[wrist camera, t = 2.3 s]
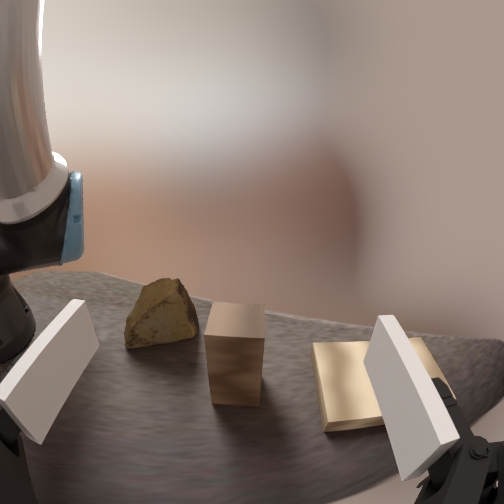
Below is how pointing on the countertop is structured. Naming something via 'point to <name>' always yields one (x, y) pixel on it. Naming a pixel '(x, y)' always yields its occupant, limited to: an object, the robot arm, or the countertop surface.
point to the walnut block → (235, 353)
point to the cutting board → (353, 383)
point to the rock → (161, 315)
